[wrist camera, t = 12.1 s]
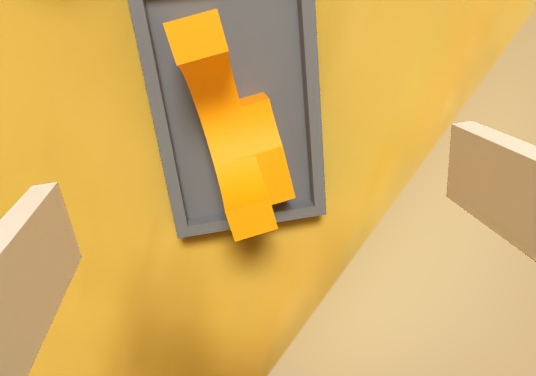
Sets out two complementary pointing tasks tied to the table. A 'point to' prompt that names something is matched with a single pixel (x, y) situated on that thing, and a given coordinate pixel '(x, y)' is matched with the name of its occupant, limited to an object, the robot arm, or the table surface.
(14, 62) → the table surface
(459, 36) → the table surface
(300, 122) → the tray
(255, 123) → the pipe clamp
